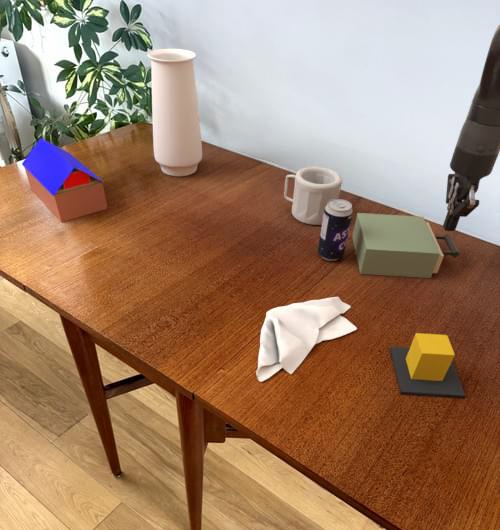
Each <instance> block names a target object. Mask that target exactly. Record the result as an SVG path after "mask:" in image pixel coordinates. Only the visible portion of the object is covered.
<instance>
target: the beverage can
mask: <svg viewBox="0 0 500 530" xmlns="http://www.w3.org/2000/svg"><path fill="white" fill-rule="evenodd" d="M353 213H354V210H353V204H352V203H351V202H350V201H348V200H346V199H343V198H338V199H332V200H330V201H328V203H327V206H326V207H325V209H324V215H323V221H322V225H321V228H320V234H319V240H318V246H317V253H318V255H319V256H321V258H322V259H324V260H326V261H329V262H333V261H334V262H335V261H338V260H339V259H341V258H343V257H344V256H345V251H346V247H347V241H348V237H349V232H350V229H351V223H352V219H353Z"/></svg>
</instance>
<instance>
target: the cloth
mask: <svg viewBox="0 0 500 530" xmlns="http://www.w3.org/2000/svg"><path fill="white" fill-rule="evenodd" d="M351 308H352V306H351V305H350V304H348V303H346V302H344V301H342V300H341V299H340V297H339V296H334V297H333V296H332V297H326V298H321V299H311V300H307V301H304V302H293V303H289V304H288V305H282V306H277V307H273V308H271V309H269V310H268V311H266V313H265V314H266V315H265V319H264V322H263V325H262V327H261V330H260V335H259V337H260V338H259V344H260V345H259V350H258V356H257V369H256V370H255V374H256V379H257V381H258V382H260V383H262V382H264V381H267V380H268V379H270V378H271V377H273V376H274V375H275V374H276V373H278V372H279V371H280V370H281V369H283V370H284V371H286V372H287V373H288V374H289V375H292V374H293V373H294V372H295V371H296V370H297V368H299V367H300V365H301V364H302V363H303V361H305V359H306V358H307V356H308V355H309V354H310V352H311V351H312V349H313V348H314V347H315V345H317V344H320V343H322V342H323V341H331V340H335V339H338V338H341V337H343V336H346V335H349V334H351V333H352V332H355V331H357V330H358V328H357V326H355V325H354V324H353V323H352V322H351V321H350V320H349V319H347V318H346V317H344V316H342V315H343V314H345V313H346V312H347V311H348V310H349V309H351Z"/></svg>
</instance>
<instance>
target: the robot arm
mask: <svg viewBox="0 0 500 530" xmlns="http://www.w3.org/2000/svg"><path fill="white" fill-rule="evenodd" d="M454 147H455V148H454V151H453V152H452V153H453V154H452V157H451V160H450V162H449V168H450V169H451V171H452V172H453V173H448V175H447V183H446V184H447V185H446V193H445V204H446V206H447V207H446V209H447V210H446V211H447V213H446V215H445V219H444V221H443V224H442V226H443V229H444V231H446V232H455V231H456V230H457V227H458V225H459V221H460V219H461V217H463V218H466V217H468V216H469V215H470V214H471V213H472V212H473V211H474V210H476V209H477V208H478V207H479V206H480V199H476V194H477V192H478V191H479V186H480V181H481V180H482V179H483V178H486V177H488V176H490V175H491V174H492V172H493V170H494V167H495V164H496V162H497V160H498V156H499V154H500V24H499V25H498V26H497V28H496V29H495V31H494V33H493V36H492V38H491V41H490V44H489V48H488V51H487V54H486V57H485V61H484V66H483V68H482V73H481V77H480V80H479V84H478V85H477V87H476V90H475V92H474V94H473V98H472V100H471V103H470V106H469V108H468V112H467V114H466V118H465V120H464V122H463V125H462V126H461V129H460V131H459V135H458V138H457V141H456V145H455V146H454Z"/></svg>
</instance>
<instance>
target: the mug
mask: <svg viewBox="0 0 500 530" xmlns="http://www.w3.org/2000/svg"><path fill="white" fill-rule="evenodd" d="M289 179H294V187H293V188H294V189H293V198H290V197H289V196H288V187H289ZM284 181H285V182H284V190H283V198H284V199H285V200H286V201H288V202H291V203H292V206H291V214H292V216H293V218H294V219H296V220H297V221H298V222H301V223H302V224H306V225H311V226H322V221H323V215H324V209H325V207H326V206H327V203H328V201H330V200H332V199H339V197H340V193H341V188H342V184H343V178H342V176H341V174H340V173H339V172H337V171H335V170H333V169H330V168H328V167H323V166H322V167H321V166H308V167H303V168H301V169H299V170H297V172H296V173H295V174H287V175H285V179H284Z"/></svg>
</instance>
